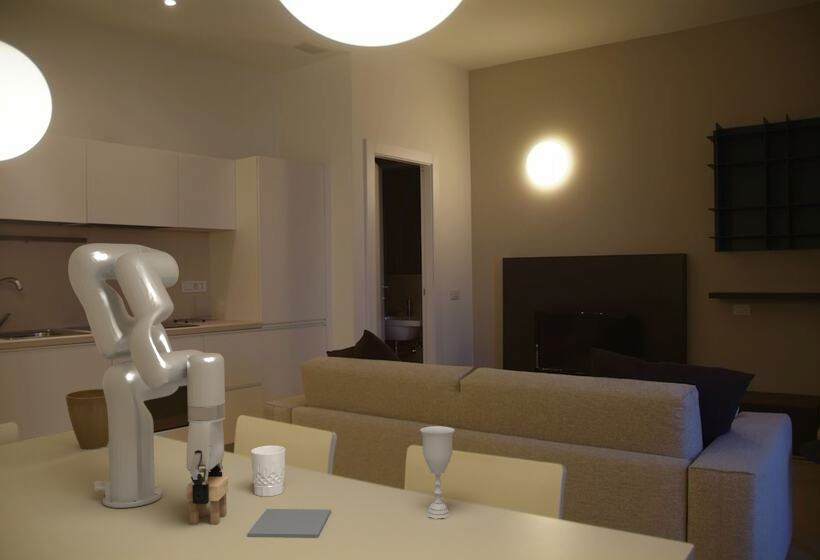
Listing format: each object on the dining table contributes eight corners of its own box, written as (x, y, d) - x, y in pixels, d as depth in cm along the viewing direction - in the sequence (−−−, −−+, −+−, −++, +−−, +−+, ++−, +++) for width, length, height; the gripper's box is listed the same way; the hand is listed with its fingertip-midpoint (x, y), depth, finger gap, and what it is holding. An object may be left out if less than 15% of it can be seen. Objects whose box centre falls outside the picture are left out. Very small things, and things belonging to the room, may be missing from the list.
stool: (187, 524, 144) (186, 486, 143) (198, 513, 150) (198, 476, 150) (218, 525, 143) (217, 486, 143) (228, 514, 150) (228, 476, 149)
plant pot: (55, 452, 203) (54, 397, 203) (87, 439, 218) (86, 388, 217) (102, 453, 200) (101, 397, 200) (131, 440, 215) (130, 388, 215)
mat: (247, 536, 137) (247, 533, 137) (266, 511, 151) (266, 508, 151) (318, 537, 136) (318, 534, 136) (331, 512, 150) (331, 509, 150)
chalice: (459, 511, 149) (458, 427, 149) (450, 522, 143) (449, 434, 143) (426, 508, 152) (425, 425, 151) (416, 518, 145) (415, 432, 145)
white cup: (278, 498, 159) (277, 454, 159) (246, 496, 161) (245, 453, 161) (291, 487, 167) (290, 446, 167) (260, 486, 169) (259, 444, 168)
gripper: (203, 404, 155) (205, 483, 155) (172, 421, 138) (173, 511, 138) (237, 404, 155) (238, 484, 155) (209, 422, 137) (211, 511, 138)
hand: (208, 496), depth 146 cm, fingers open, 7 cm apart
